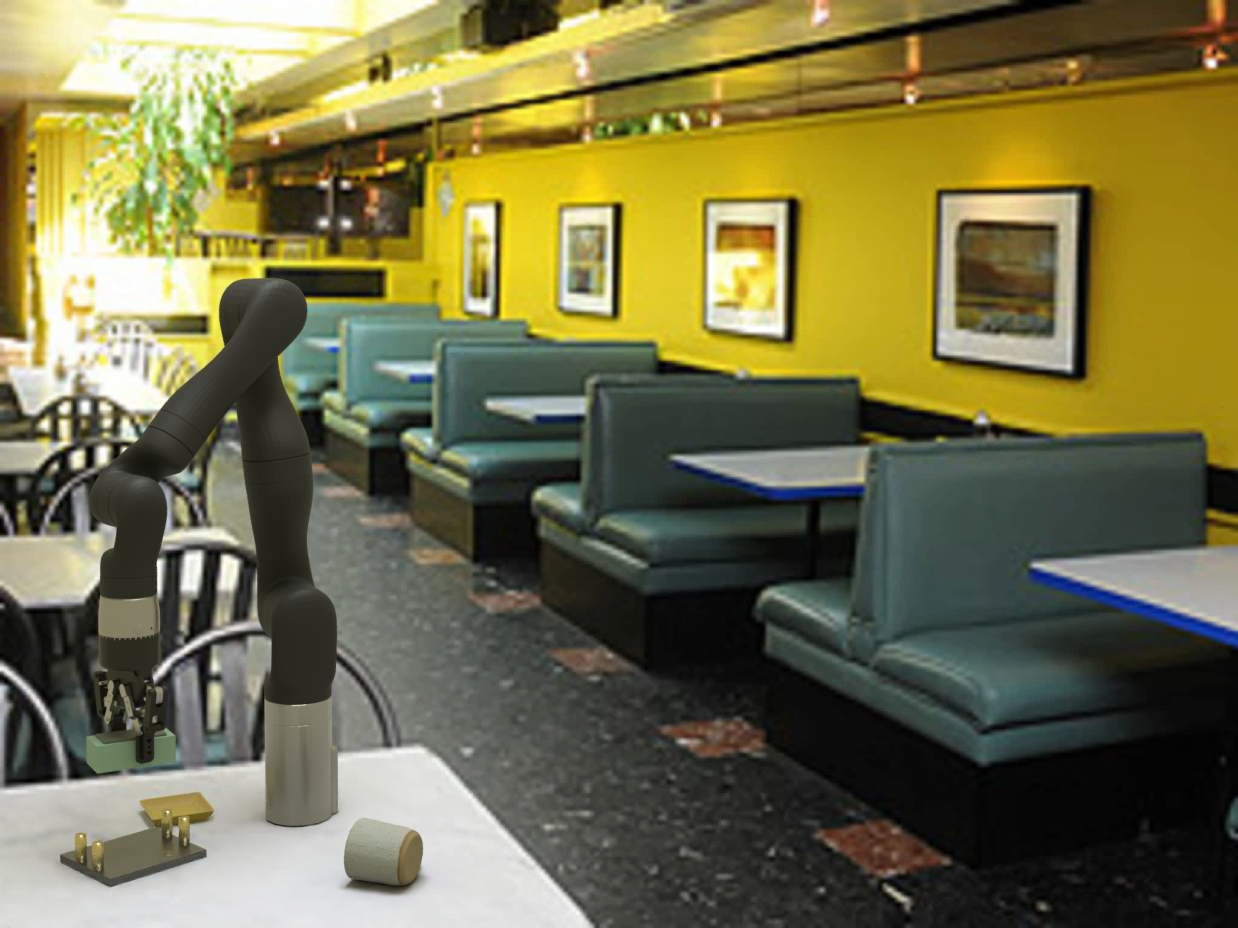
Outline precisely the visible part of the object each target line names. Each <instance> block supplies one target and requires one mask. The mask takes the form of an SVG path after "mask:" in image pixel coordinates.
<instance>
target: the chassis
mask: <svg viewBox="0 0 1238 928" xmlns="http://www.w3.org/2000/svg"><path fill="white" fill-rule="evenodd" d="M161 821H162V827H161V829H160V828H159V827H157V826H154V827H150V828H148V829H144V830H140V831H137V832H133V833H130V834H126V835H122V836H119V837H116V838H113V839H109V840H105V841H104V840H100V839H98V840H97V839H96V840H93V841H92V842H91V845H88V841H87V839H88V838H87V832H77V833H75V834H74V845H75V846H74V847H75V848H74V850H73V849H72V850H71V851H67V852H63V853H60V854H59V859H60V860H59V861H60V863H62V864H64V865H65V866H68V867H69V868H72V869H74V870H76V871H78V872H80V873H82V874H84V875H86V876H88V877H90V878H93V879H94V880H96V881H98V882H100V883H103V884H105V885H106V886H109V887H114V886H117V885H120V884H121V885H122V884H123V883H127V882H130V881H134V880H136V879H140V878H144V877H147V876H149V875H152V874H156V873H159V872H162V871H165V870H169V869H171V868H174V867H178V866H181V865H184V864H188V863H191V862H194V861H198V860H201V859H203V858H207V850H208V849H206V848H205V847H202V846H199V845H197V844H195V843H193V842H191V840H190V839H191V835H190V834H191V831H190V824H191V823H189V816H180V817H179V818H178V823H179V825H178V836H177V835H174V833H173V826H174V825H173V826H172V809H163V810H161ZM87 845H88V846H87Z"/></svg>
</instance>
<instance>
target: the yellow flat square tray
mask: <svg viewBox="0 0 1238 928" xmlns="http://www.w3.org/2000/svg"><path fill="white" fill-rule="evenodd" d="M139 804H140V806H141V807H142V808H143V809H144V811H145V813H146V814H147V815H148V817H149V818H150V819H151V821H152V823H153V824H154V826H155V827H156V828H162V821H161V810H163V809H172V826H179V823H178V818H179V817H180V816H189V823H190V824H192V823H197V822H198V823H199V822H204V821H207V820H208V819H209V818H210V817H211V816H212V815H213V813H214V812H215V808H213V806H212V805H211V804H210V803H209V801H208V800H207V799H206V797H205V796H204V795H203V794H202V792H200V791H195V792H186V793H180V794H173V795H164V796H158V797H153V798H152V797H151V798H150V797H149V798H144V799H143V798H142V799H141V800H139Z"/></svg>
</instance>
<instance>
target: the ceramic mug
mask: <svg viewBox="0 0 1238 928" xmlns="http://www.w3.org/2000/svg"><path fill="white" fill-rule="evenodd" d="M343 854H344V855H343V866H344V872H345V874H346V876H347V877H348V878H350V879H351V880H355V881H357V880H358V881H362V882H363V881H364V882H368V883H369V882H370V883H375V884H385V885H390V886H406V885H409V884H410V883H412V882H413V881H414V879H416V877H417V875H418V873H419V871H420V868H421V865H422V860H423V856H424V843H423V838H422V837H421V834H420V833H419V832H418V831H417V830H415V829H412V828H410V827H408V826H403V825H399V824H398V825H397V824H394V823H390V822H385V821H382V820H376V819H373V818H367V817H361V818H358V820H356V821H355V822H354V824H353V825H352V826H351V828H350V830H349V833H348V835H347V839H346V842H345V846H344V853H343Z"/></svg>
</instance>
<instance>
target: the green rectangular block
mask: <svg viewBox="0 0 1238 928" xmlns="http://www.w3.org/2000/svg"><path fill="white" fill-rule="evenodd" d="M136 735H137V734H136V731H135V728H129V729H126V730H122V731H114V732H102V733H101V732H100V733H95V734H94V735H86V736H85V738H86V739H85V742H86V743H85V744H86V746H85V747H86V748H85V750H86V752H85V753H86V764H87V765H88V766H89V767H90V768H91V769H92V770H93V772H95V773H96V774H103V773H110V772H117V771H124V770H131V769H136V768H144V767H151V766H152V767H153V766H157V765H158V766H159V765H164V764H171V763H176V762H177V756H176V754H177V751H176V750H177V748H176V740H177V739H176V738H177V737H176V735H175V734H174V733H173V732H172V731H170V730H169V729H168V728H167V727H165V730H162V731H158V732H155V734H154V759H153V761H151V762H148V763H144V764H140V763H137V762H136Z"/></svg>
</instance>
